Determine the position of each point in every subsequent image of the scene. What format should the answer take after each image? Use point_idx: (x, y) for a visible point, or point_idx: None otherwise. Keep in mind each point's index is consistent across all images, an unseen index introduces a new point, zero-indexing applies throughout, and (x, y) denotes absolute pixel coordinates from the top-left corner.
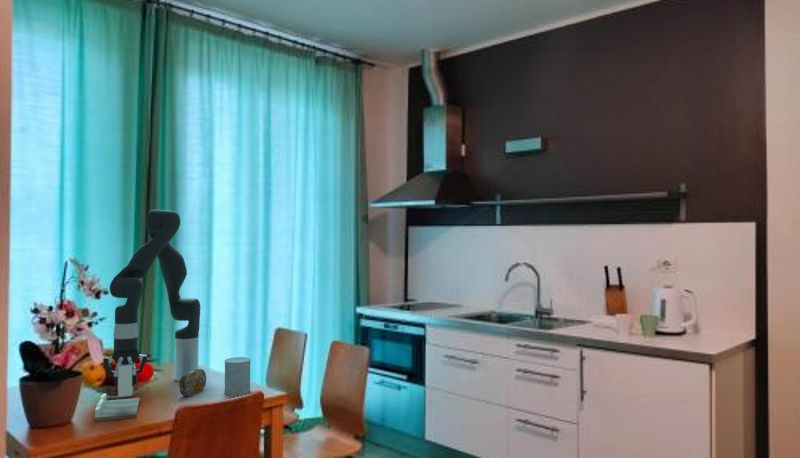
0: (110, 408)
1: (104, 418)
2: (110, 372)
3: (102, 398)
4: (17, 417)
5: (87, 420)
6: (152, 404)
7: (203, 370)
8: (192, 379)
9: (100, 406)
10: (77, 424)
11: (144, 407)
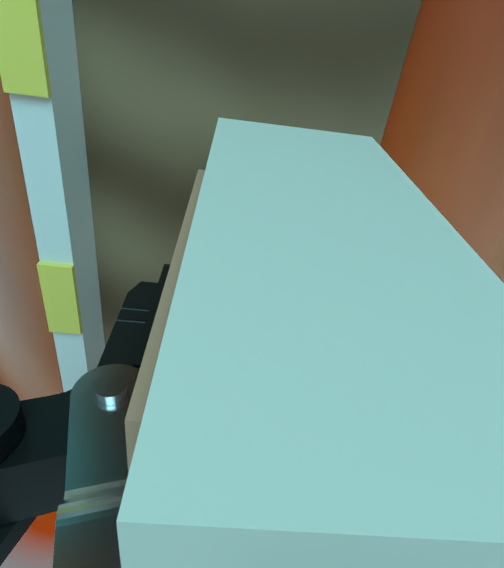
0: (151, 204)
1: None
2: (7, 527)
3: (31, 95)
4: None
5: (39, 312)
6: (498, 103)
7: None
8: None
9: (84, 347)
10: (5, 356)
11: (410, 171)
